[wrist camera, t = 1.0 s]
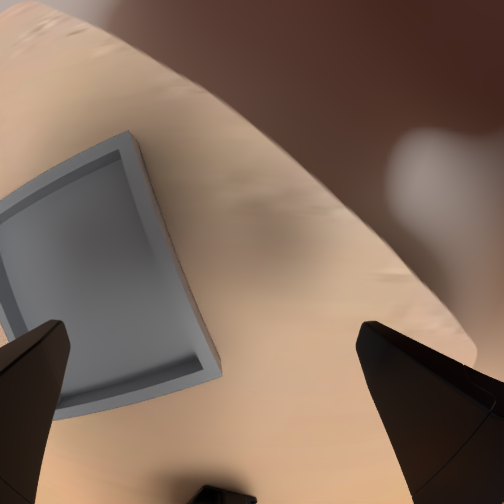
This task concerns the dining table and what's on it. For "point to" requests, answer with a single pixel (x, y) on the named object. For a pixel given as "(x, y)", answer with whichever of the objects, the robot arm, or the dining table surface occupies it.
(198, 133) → the dining table surface
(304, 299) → the dining table surface
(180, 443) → the dining table surface
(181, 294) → the tray
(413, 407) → the robot arm
